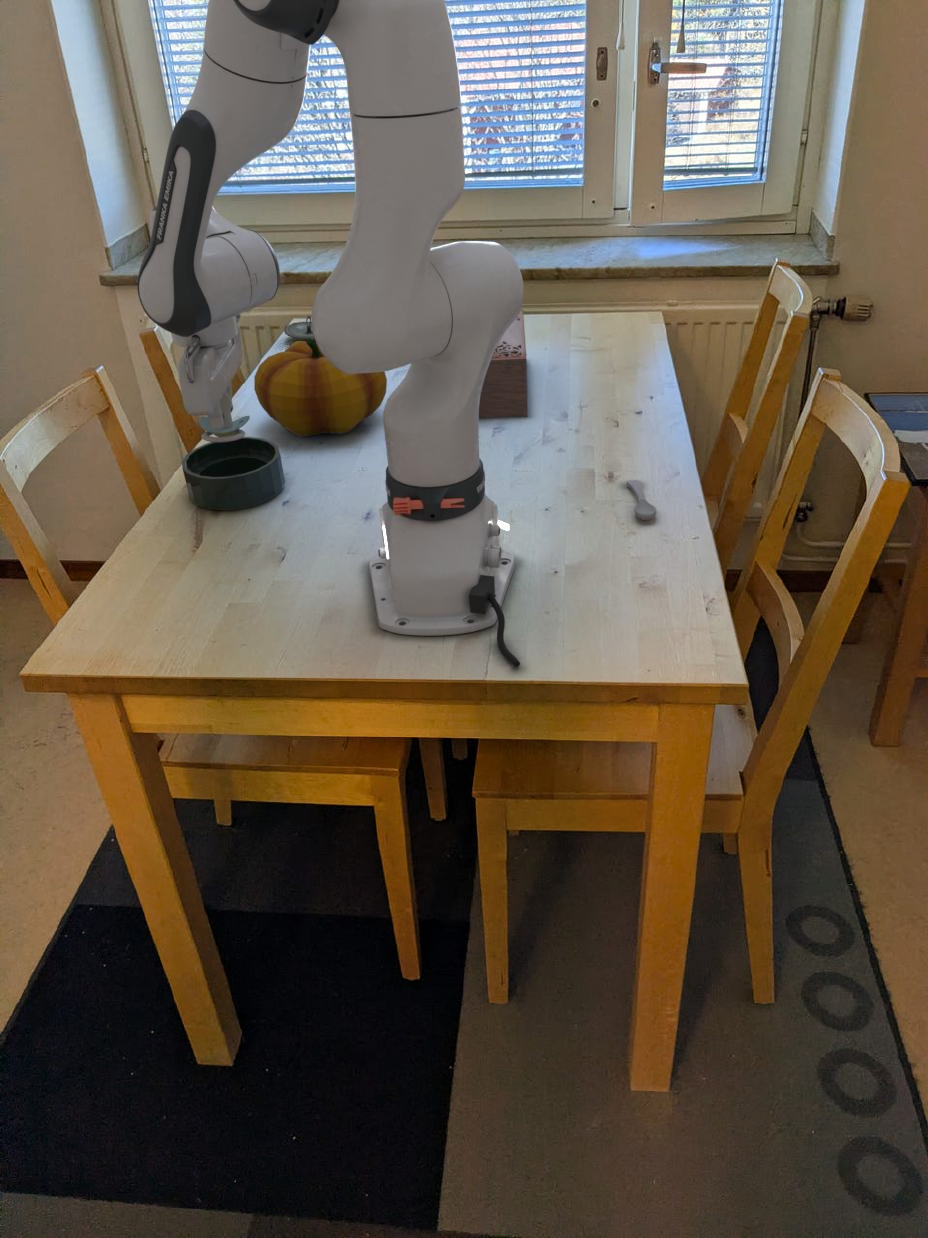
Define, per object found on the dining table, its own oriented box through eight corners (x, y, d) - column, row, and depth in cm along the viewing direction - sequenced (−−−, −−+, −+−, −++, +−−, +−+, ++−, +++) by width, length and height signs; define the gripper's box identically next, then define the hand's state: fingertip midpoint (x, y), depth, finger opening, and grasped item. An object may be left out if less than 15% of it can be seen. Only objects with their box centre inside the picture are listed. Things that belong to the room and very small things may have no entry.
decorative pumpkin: (390, 442, 159) (380, 352, 150) (254, 452, 159) (236, 362, 150) (391, 395, 175) (382, 311, 167) (268, 404, 175) (253, 321, 167)
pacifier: (245, 445, 139) (255, 426, 144) (236, 403, 136) (247, 386, 140) (194, 446, 140) (206, 427, 145) (185, 405, 136) (197, 387, 141)
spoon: (636, 524, 132) (637, 510, 131) (622, 489, 143) (622, 476, 142) (658, 523, 132) (659, 509, 131) (642, 488, 143) (643, 475, 142)
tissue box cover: (527, 416, 164) (526, 358, 159) (441, 420, 165) (437, 362, 160) (524, 361, 186) (523, 309, 180) (448, 365, 186) (444, 312, 181)
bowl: (275, 511, 142) (269, 476, 139) (179, 514, 142) (170, 480, 139) (292, 467, 153) (286, 434, 150) (203, 471, 154) (195, 438, 151)
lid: (283, 342, 207) (274, 321, 204) (324, 321, 209) (315, 300, 206) (301, 358, 200) (292, 336, 196) (343, 336, 202) (335, 314, 198)
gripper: (207, 350, 125) (228, 449, 133) (241, 300, 142) (258, 392, 150) (158, 352, 125) (182, 451, 133) (198, 302, 142) (217, 393, 150)
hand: (222, 419), depth 141 cm, fingers closed on pacifier, 3 cm apart
